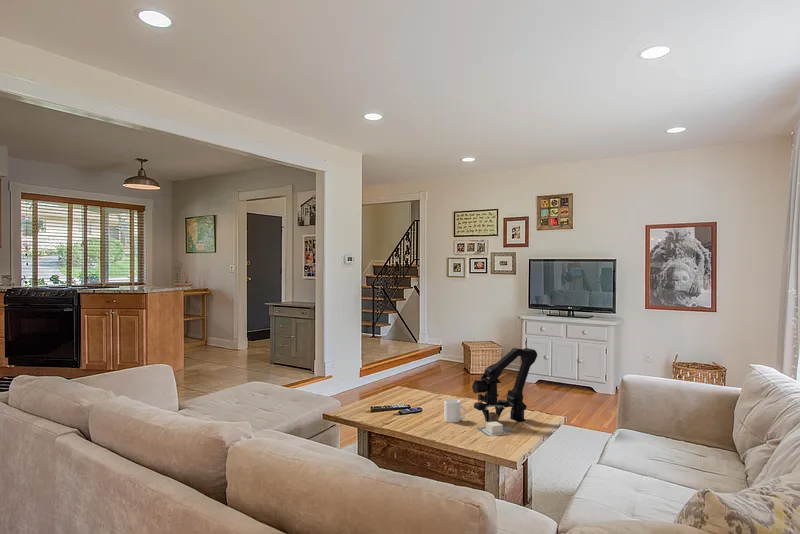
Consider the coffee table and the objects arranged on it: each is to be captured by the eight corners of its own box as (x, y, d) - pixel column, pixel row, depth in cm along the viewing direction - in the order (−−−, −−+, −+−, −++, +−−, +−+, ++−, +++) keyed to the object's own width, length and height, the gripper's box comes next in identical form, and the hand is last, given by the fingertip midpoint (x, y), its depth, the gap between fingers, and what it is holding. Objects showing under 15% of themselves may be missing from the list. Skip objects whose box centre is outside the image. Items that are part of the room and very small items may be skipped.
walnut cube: (493, 421, 254) (493, 411, 254) (498, 424, 249) (498, 414, 249) (485, 422, 252) (485, 412, 252) (490, 425, 247) (490, 415, 248)
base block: (496, 429, 239) (496, 421, 239) (502, 433, 233) (502, 425, 233) (485, 430, 237) (485, 422, 237) (492, 434, 231) (492, 426, 231)
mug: (462, 425, 247) (462, 405, 247) (441, 421, 253) (441, 401, 253) (468, 421, 254) (468, 401, 254) (448, 417, 260) (448, 398, 260)
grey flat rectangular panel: (502, 425, 246) (502, 424, 246) (516, 433, 234) (516, 432, 234) (475, 429, 241) (475, 427, 241) (488, 437, 229) (488, 435, 229)
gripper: (498, 386, 262) (498, 414, 261) (468, 389, 255) (468, 418, 255) (510, 391, 251) (510, 420, 251) (479, 394, 245) (479, 424, 245)
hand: (491, 421), depth 251 cm, fingers open, 6 cm apart
